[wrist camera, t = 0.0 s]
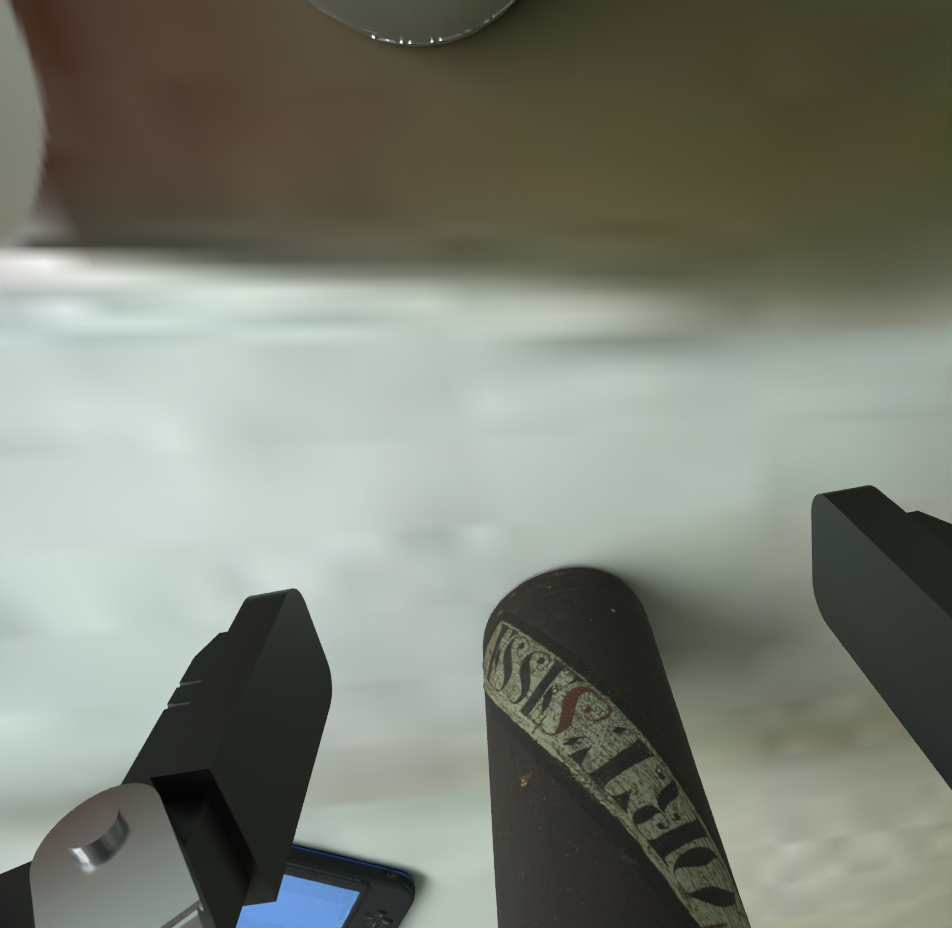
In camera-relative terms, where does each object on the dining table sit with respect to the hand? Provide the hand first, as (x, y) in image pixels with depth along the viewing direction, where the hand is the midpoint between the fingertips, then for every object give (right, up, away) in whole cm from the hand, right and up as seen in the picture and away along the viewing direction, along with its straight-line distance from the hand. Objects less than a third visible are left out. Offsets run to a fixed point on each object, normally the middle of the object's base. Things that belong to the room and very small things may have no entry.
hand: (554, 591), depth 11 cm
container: (+3, -6, +23) cm, 24 cm away
